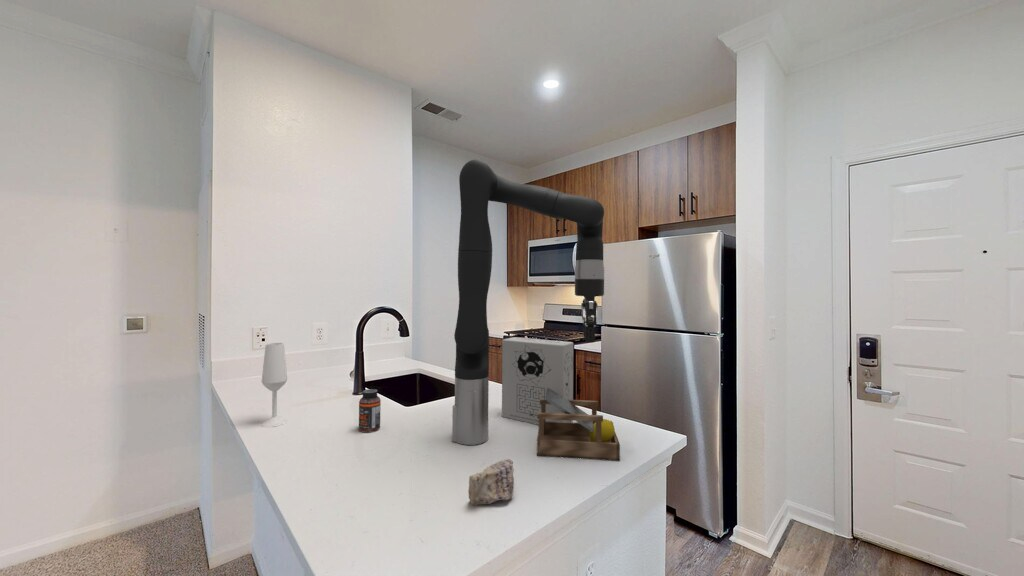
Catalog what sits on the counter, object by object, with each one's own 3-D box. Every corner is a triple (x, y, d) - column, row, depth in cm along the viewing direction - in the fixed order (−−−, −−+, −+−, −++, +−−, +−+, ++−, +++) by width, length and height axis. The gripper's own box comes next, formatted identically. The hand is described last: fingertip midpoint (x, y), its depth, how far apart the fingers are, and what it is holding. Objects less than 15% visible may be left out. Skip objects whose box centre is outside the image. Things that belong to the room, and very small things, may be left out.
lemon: (599, 446, 105) (620, 425, 103) (598, 455, 99) (620, 433, 98) (583, 430, 105) (604, 410, 104) (582, 439, 100) (603, 417, 99)
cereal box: (573, 423, 122) (573, 342, 122) (562, 430, 115) (563, 345, 115) (513, 410, 133) (514, 336, 133) (501, 417, 127) (501, 339, 127)
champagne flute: (288, 424, 119) (288, 344, 119) (261, 428, 115) (262, 346, 115) (286, 417, 125) (286, 341, 125) (260, 421, 121) (261, 343, 121)
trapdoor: (543, 403, 99) (547, 397, 99) (544, 392, 110) (548, 386, 110) (590, 435, 98) (594, 430, 98) (587, 421, 108) (591, 416, 108)
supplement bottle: (354, 431, 114) (354, 392, 114) (368, 424, 119) (369, 387, 119) (370, 434, 111) (370, 394, 111) (384, 427, 117) (384, 389, 117)
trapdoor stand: (536, 456, 98) (537, 414, 98) (539, 435, 112) (540, 398, 112) (619, 461, 95) (620, 418, 95) (612, 438, 109) (612, 401, 109)
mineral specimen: (493, 518, 72) (493, 484, 72) (462, 506, 75) (462, 474, 75) (527, 488, 82) (528, 458, 82) (499, 479, 86) (499, 450, 86)
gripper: (607, 277, 96) (606, 344, 96) (601, 278, 110) (600, 336, 110) (575, 277, 96) (575, 343, 97) (574, 278, 111) (573, 336, 111)
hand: (588, 339), depth 103 cm, fingers open, 8 cm apart
